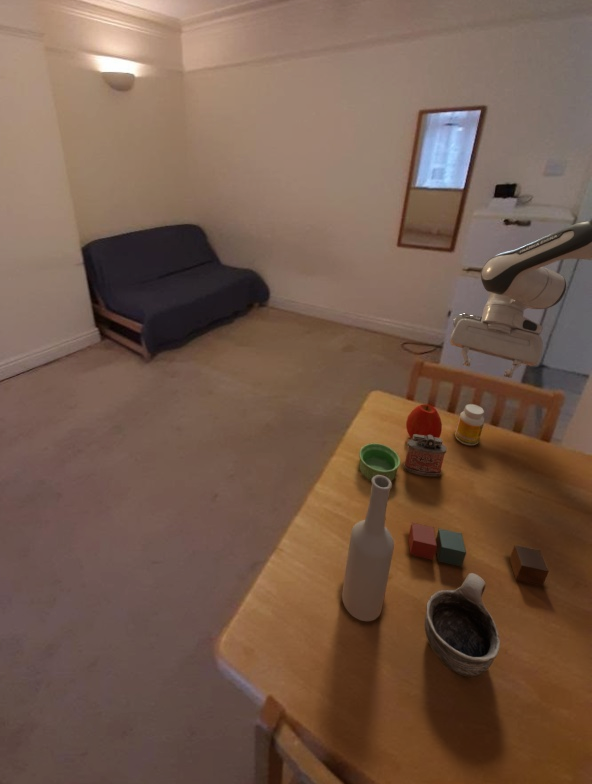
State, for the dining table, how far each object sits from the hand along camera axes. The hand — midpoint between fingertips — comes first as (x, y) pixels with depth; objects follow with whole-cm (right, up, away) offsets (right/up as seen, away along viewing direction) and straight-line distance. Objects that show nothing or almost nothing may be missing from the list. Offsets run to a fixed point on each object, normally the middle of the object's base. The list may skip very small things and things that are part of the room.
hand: (486, 370), depth 104 cm
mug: (-31, -37, -40) cm, 63 cm away
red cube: (-30, -31, -26) cm, 50 cm away
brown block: (-13, -32, -31) cm, 47 cm away
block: (-25, -31, -28) cm, 49 cm away
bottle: (-43, -35, -35) cm, 66 cm away
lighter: (-21, -22, -9) cm, 32 cm away
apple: (-17, -18, 0) cm, 25 cm away
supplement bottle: (-5, -18, 0) cm, 18 cm away
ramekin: (-31, -23, -9) cm, 40 cm away
